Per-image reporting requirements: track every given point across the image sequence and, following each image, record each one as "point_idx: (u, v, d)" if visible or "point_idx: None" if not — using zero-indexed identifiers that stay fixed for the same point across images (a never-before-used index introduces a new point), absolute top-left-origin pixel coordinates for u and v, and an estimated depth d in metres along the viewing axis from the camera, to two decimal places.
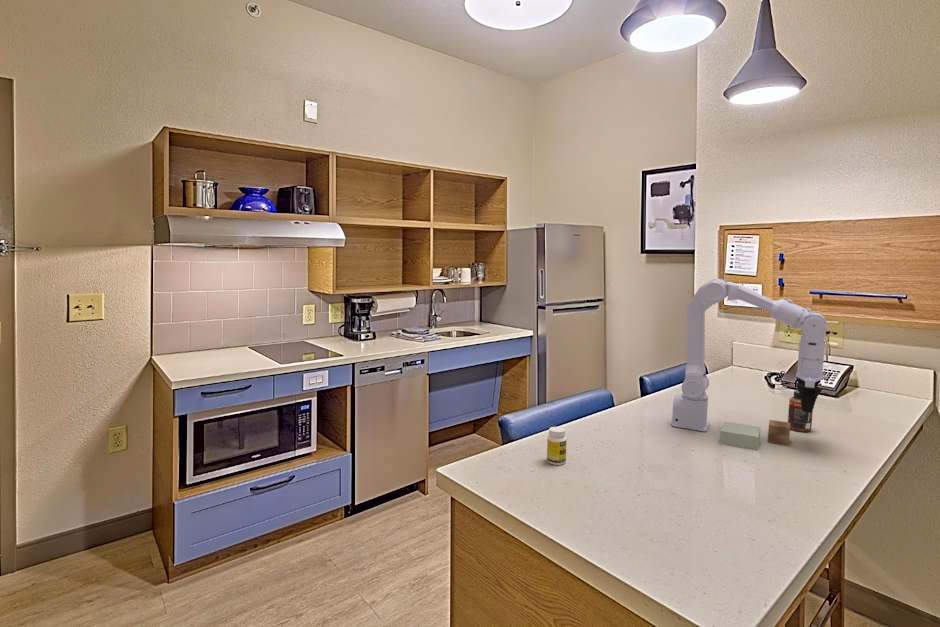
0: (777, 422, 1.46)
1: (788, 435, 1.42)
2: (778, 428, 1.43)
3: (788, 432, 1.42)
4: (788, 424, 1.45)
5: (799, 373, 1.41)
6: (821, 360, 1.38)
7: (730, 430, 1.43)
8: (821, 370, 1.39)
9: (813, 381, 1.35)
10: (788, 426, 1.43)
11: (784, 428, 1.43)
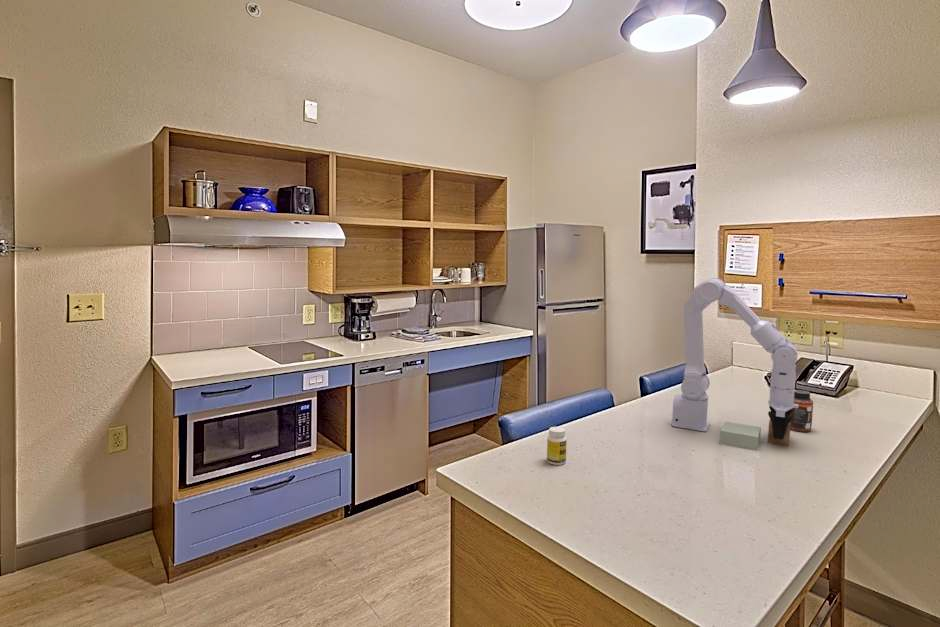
0: None
1: (788, 435, 1.42)
2: None
3: (788, 432, 1.42)
4: (788, 424, 1.45)
5: (771, 402, 1.44)
6: (792, 389, 1.41)
7: (729, 430, 1.43)
8: (792, 399, 1.42)
9: (783, 411, 1.38)
10: (788, 426, 1.43)
11: None
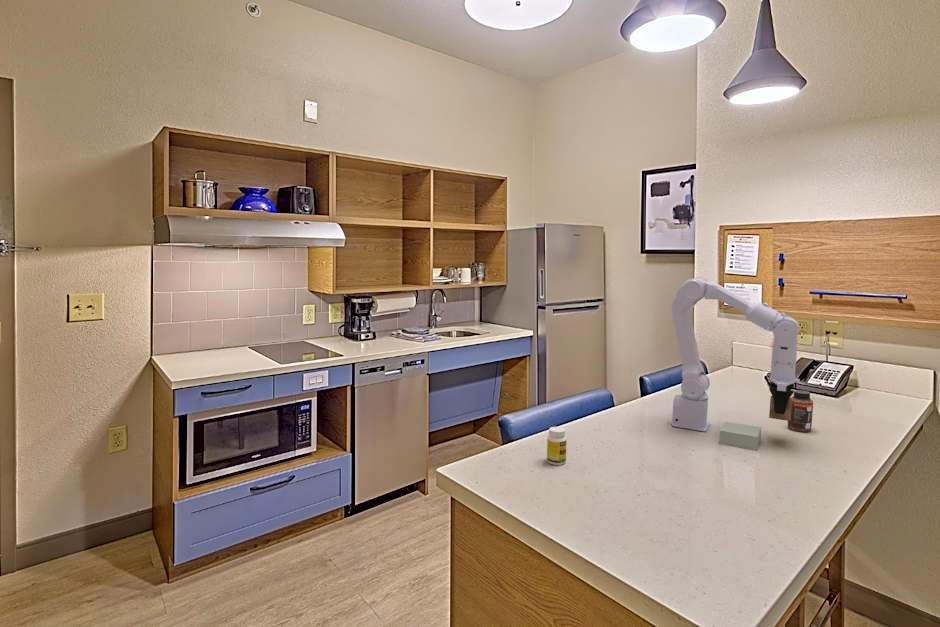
0: None
1: (790, 410, 1.41)
2: None
3: (790, 407, 1.41)
4: (790, 399, 1.44)
5: (772, 377, 1.43)
6: (793, 364, 1.40)
7: (729, 430, 1.43)
8: (793, 374, 1.41)
9: (785, 385, 1.37)
10: (790, 401, 1.42)
11: None
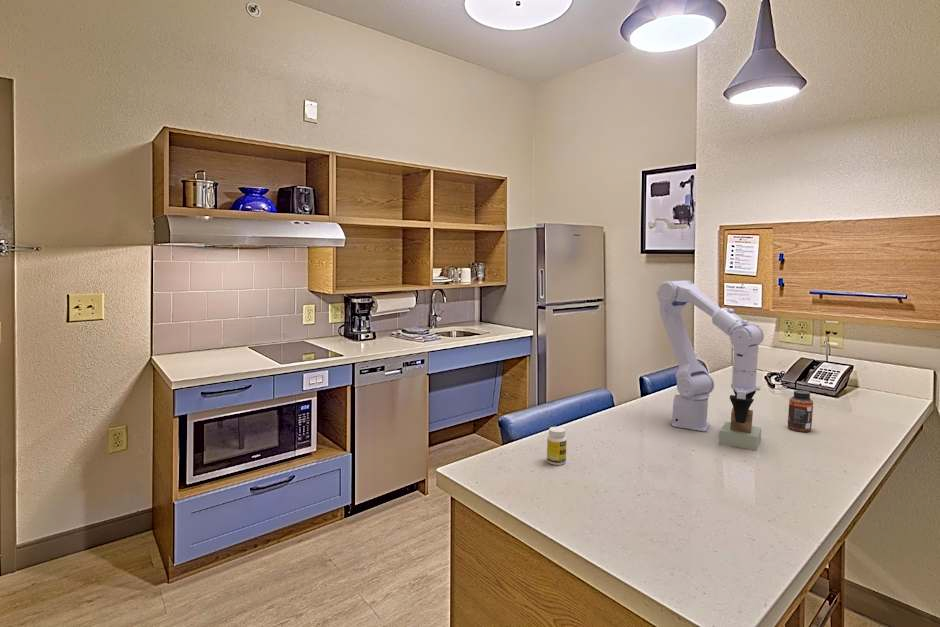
0: None
1: (750, 422, 1.41)
2: None
3: (750, 419, 1.41)
4: (751, 411, 1.44)
5: (733, 385, 1.43)
6: (754, 372, 1.40)
7: (729, 430, 1.44)
8: (754, 381, 1.41)
9: (744, 393, 1.37)
10: (750, 413, 1.42)
11: None
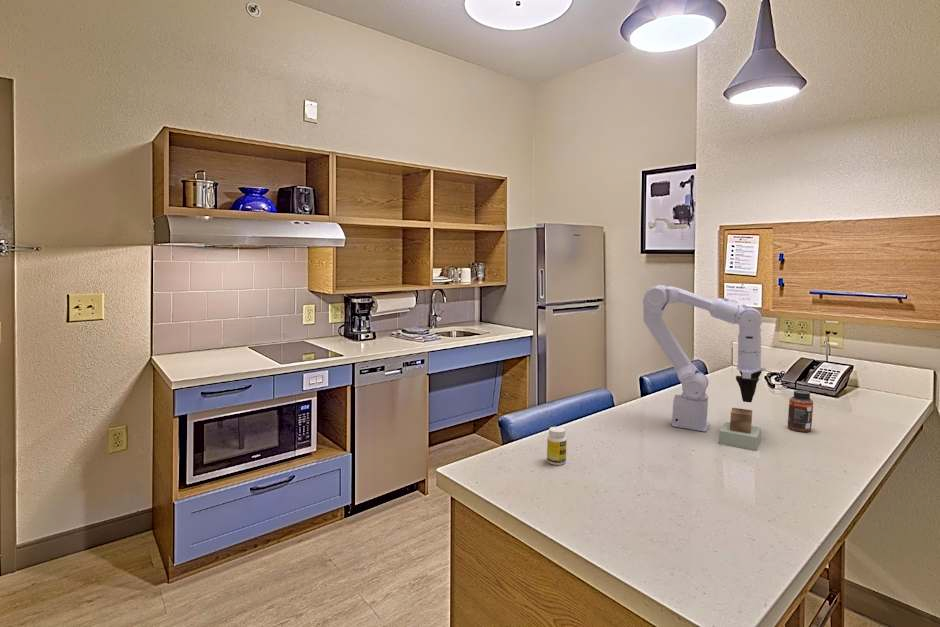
0: (739, 410, 1.45)
1: (750, 422, 1.41)
2: (740, 416, 1.42)
3: (750, 419, 1.41)
4: (750, 411, 1.44)
5: (739, 366, 1.49)
6: (758, 352, 1.46)
7: (728, 431, 1.43)
8: (759, 362, 1.46)
9: (749, 372, 1.43)
10: (750, 413, 1.42)
11: (746, 416, 1.42)
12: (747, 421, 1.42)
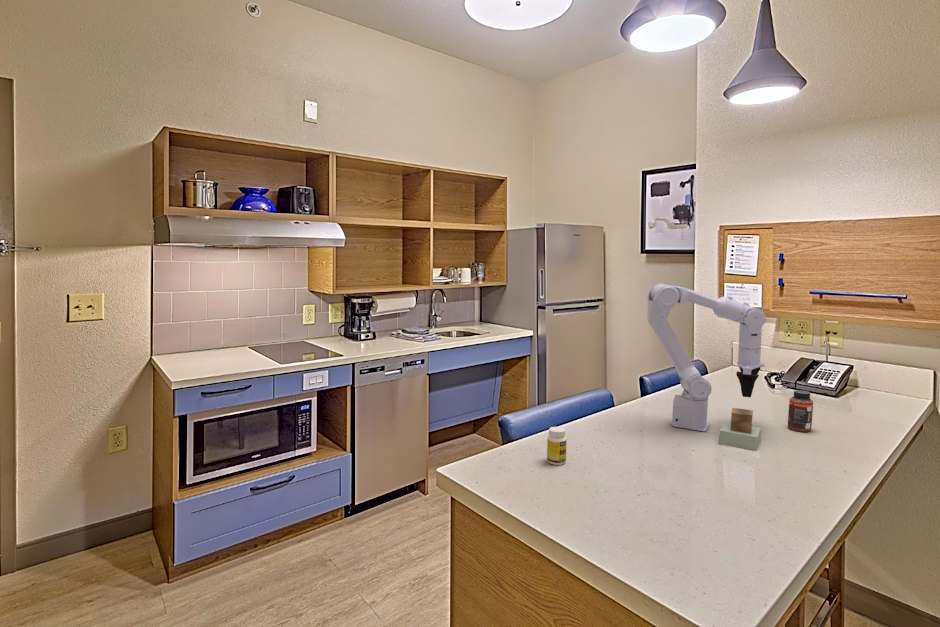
0: (740, 410, 1.45)
1: (750, 422, 1.41)
2: (741, 416, 1.42)
3: (750, 419, 1.41)
4: (751, 412, 1.43)
5: (739, 362, 1.53)
6: (758, 349, 1.51)
7: (728, 430, 1.44)
8: (758, 358, 1.51)
9: (750, 368, 1.47)
10: (750, 413, 1.42)
11: (746, 416, 1.41)
12: (748, 421, 1.41)
